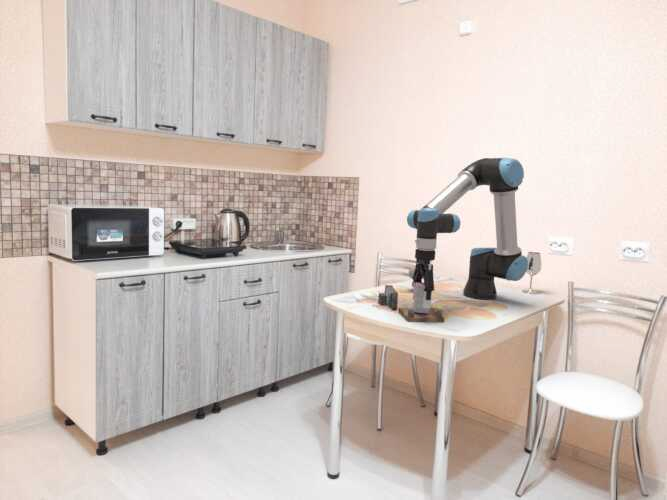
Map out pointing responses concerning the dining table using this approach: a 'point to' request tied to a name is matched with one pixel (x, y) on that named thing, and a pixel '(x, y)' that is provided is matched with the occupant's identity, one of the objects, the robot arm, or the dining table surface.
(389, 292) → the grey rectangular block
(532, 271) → the wineglass
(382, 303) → the stop block
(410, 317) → the cabinet door
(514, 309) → the dining table surface
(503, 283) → the dining table surface
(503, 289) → the dining table surface
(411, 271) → the figurine
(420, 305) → the supplement box
